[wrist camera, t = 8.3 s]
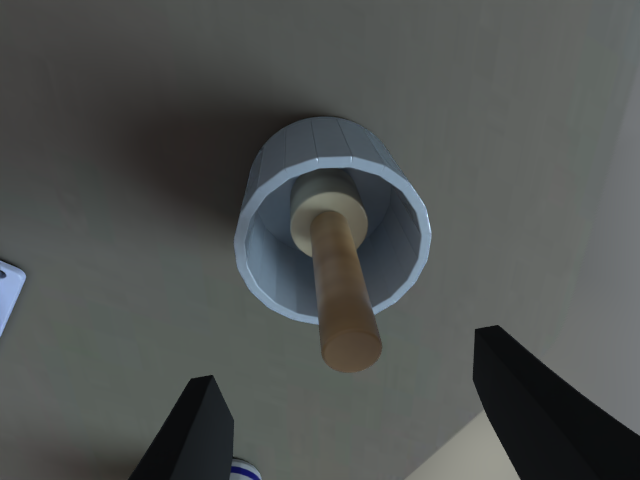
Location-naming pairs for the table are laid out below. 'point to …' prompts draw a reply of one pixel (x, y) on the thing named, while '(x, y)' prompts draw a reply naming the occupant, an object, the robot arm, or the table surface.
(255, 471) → the energy drink
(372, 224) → the blue pencil cup
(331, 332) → the brush
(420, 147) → the table surface
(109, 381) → the table surface
